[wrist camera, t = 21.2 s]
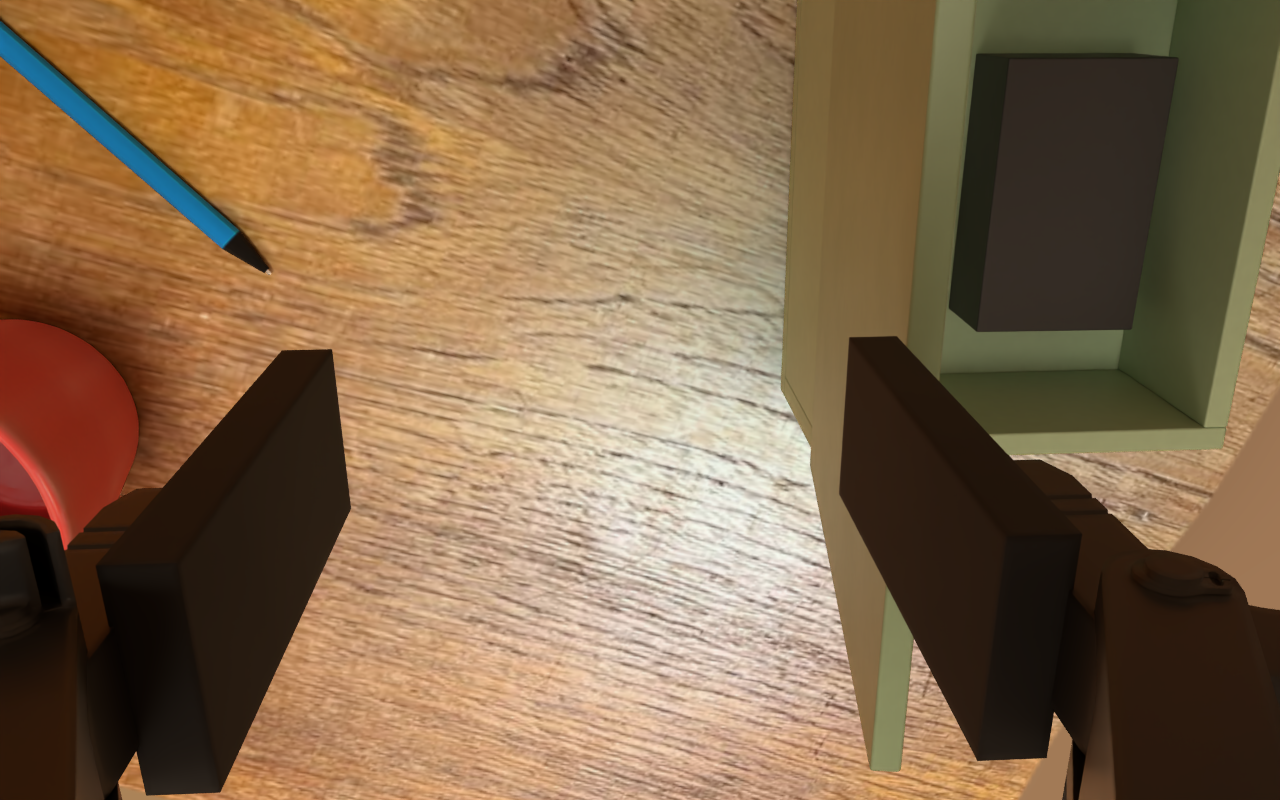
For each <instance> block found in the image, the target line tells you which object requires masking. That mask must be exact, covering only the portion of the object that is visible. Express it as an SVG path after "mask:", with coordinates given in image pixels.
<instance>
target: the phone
mask: <svg viewBox="0 0 1280 800" xmlns="http://www.w3.org/2000/svg"><path fill="white" fill-rule="evenodd" d="M1178 61H1179V58H1178V57H1170V56H1159V55H1148V54H1137V53H985V54H976V61H975V70H974V79H973V88H972V97H971V107H970V116H969V125H968V134H967V144H966V153H965V162H964V171H963V181H962V190H961V199H960V208H959V217H958V227H957V236H956V245H955V254H954V264H953V273H952V282H951V291H950V300H949V309H950V310H951V311H952V312H954V313H955V314H956V315H957V316H958V317H960V318H961V319H962V320H963V321H964V322H965V323H967V324H968V325H969V326H970V327H971V328H973V329H974V330H975V331H976V332H1014V331H1080V330H1131V329H1132V325H1133V320H1134V314H1135V308H1136V302H1137V297H1138V291H1139V285H1140V279H1141V274H1142V268H1143V262H1144V256H1145V251H1146V245H1147V239H1148V234H1149V228H1150V222H1151V216H1152V211H1153V205H1154V199H1155V193H1156V188H1157V182H1158V176H1159V170H1160V165H1161V159H1162V153H1163V147H1164V142H1165V136H1166V130H1167V124H1168V119H1169V113H1170V107H1171V101H1172V96H1173V90H1174V84H1175V78H1176V73H1177V67H1178Z"/></svg>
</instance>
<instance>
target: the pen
mask: <svg viewBox="0 0 1280 800" xmlns="http://www.w3.org/2000/svg"><path fill="white" fill-rule="evenodd" d="M0 56H1V57H2V58H3V59H4V60H5V61H6V62H7V63H9V64H10V65H11V66H12V67H13V68H14V69H16V70H17V71H18V72H19V73H20V74H21V75H22V76H24V77H25V78H26V79H27V80H28V81H29V82H31V83H32V84H33V85H34V86H35V87H36V88H37V89H39V90H40V91H41V92H42V93H43V94H44V95H46V96H47V97H48V98H49V99H50V100H51V101H52V102H54V103H55V104H56V105H57V106H58V107H59V108H61V109H62V110H63V111H64V112H65V113H66V114H67V115H69V116H70V117H71V118H72V119H73V120H74V121H76V122H77V123H78V124H79V125H80V126H81V127H82V128H84V129H85V130H86V131H87V132H88V133H89V134H91V135H92V136H93V137H94V138H95V139H96V140H98V141H99V142H100V143H101V144H102V145H103V146H104V147H106V148H107V149H108V150H109V151H110V152H111V153H113V154H114V155H115V156H116V157H117V158H118V159H119V160H121V161H122V162H123V163H124V164H125V165H126V166H128V167H129V168H130V169H131V170H132V171H133V172H134V173H136V174H137V175H138V176H139V177H140V178H141V179H143V180H144V181H145V182H146V183H147V184H148V185H149V186H151V187H152V188H153V189H154V190H155V191H156V192H158V193H159V194H160V195H161V196H162V197H163V198H164V199H166V200H167V201H168V202H169V203H170V204H171V205H173V206H174V207H175V208H176V209H177V210H178V211H179V212H181V213H182V214H183V215H184V216H185V217H186V218H188V219H189V220H190V221H191V222H192V223H193V224H194V225H196V226H197V227H198V228H199V229H200V230H201V231H203V232H204V233H205V234H206V235H207V236H208V237H209V238H211V239H212V240H213V241H214V242H215V243H216V244H218V245H219V246H220V247H221V248H222V249H224V250H225V251H227V252H229V253H231V254H232V255H234V256H236V257H237V258H239V259H241V260H243V261H244V262H246V263H248V264H250V265H251V266H253V267H255V268H256V269H258V270H260V271H262V272H263V273H265V272H266V273H267V274H268V275H270V274H271V272H270V271H269V270H268V269H269V268H268V266H267V265H266V264H265V262H264V261H263V260H262V259H261V257H260V256H259V255H258V253H257V252H256V251H255V249H254V248H253V247H252V246H251V244H250V243H249V242H248V240H247V239H246V238H245V237H244V235H243V234H242V233H241V231H240V230H238V229H237V228H236V227H235V226H234V225H233V224H232V223H230V222H229V221H228V220H227V219H226V218H225V217H224V216H222V215H221V214H220V213H219V212H218V211H217V210H216V209H214V208H213V207H212V206H211V205H210V204H209V203H208V202H207V201H205V200H204V199H203V198H202V197H201V196H200V195H199V194H197V193H196V192H195V191H194V190H193V189H192V188H191V187H189V186H188V185H187V184H186V183H185V182H184V181H183V180H181V179H180V178H179V177H178V176H177V175H176V174H175V173H173V172H172V171H171V170H170V169H169V168H168V167H167V166H165V165H164V164H163V163H162V162H161V161H160V160H159V159H158V158H156V157H155V156H154V155H153V154H152V153H151V152H150V151H148V150H147V149H146V148H145V147H144V146H143V145H142V144H140V143H139V142H138V141H137V140H136V139H135V138H134V137H132V136H131V135H130V134H129V133H128V132H127V131H126V130H124V129H123V128H122V127H121V126H120V125H119V124H118V123H116V122H115V121H114V120H113V119H112V118H111V117H110V116H109V115H107V114H106V113H105V112H104V111H103V110H102V109H101V108H99V107H98V106H97V105H96V104H95V103H94V102H93V101H91V100H90V99H89V98H88V97H87V96H86V95H85V94H83V93H82V92H81V91H80V90H79V89H78V88H77V87H75V86H74V85H73V84H72V83H71V82H70V81H69V80H67V79H66V78H65V77H64V76H63V75H62V74H61V73H60V72H58V71H57V70H56V69H55V68H54V67H53V66H52V65H50V64H49V63H48V62H47V61H46V60H45V59H44V58H42V57H41V56H40V55H39V54H38V53H37V52H36V51H34V50H33V49H32V48H31V47H30V46H29V45H28V44H26V43H25V42H24V41H23V40H22V39H21V38H20V37H18V36H17V35H16V34H15V33H14V32H13V31H12V30H11V29H9V28H8V27H7V26H6V25H5V24H4V23H3V22H1V21H0Z"/></svg>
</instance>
